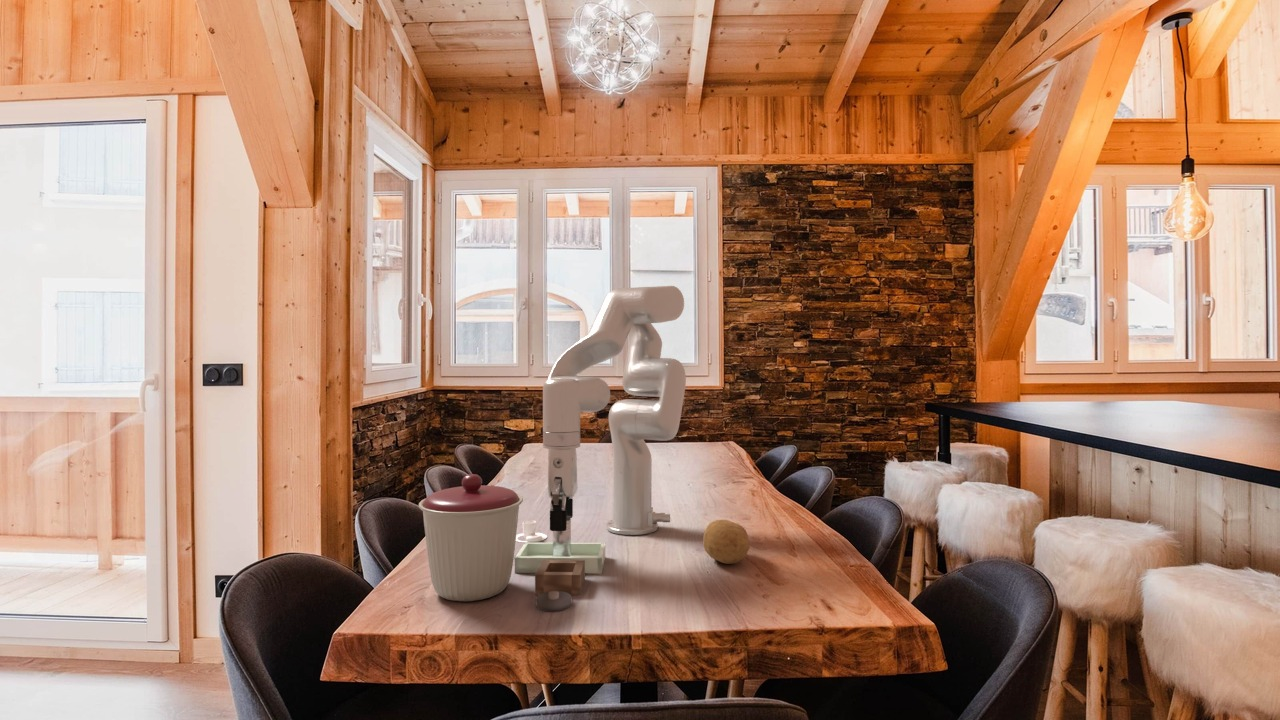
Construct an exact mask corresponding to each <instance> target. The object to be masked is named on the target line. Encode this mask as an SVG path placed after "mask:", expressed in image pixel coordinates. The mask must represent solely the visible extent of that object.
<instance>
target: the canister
mask: <svg viewBox="0 0 1280 720" xmlns="http://www.w3.org/2000/svg"><path fill="white" fill-rule="evenodd" d="M482 484H483V479H482V476H480V475H478V474H474V473H473V474H472V473H471V474H467V475H465V476H463V478H462V479H461V486H455V487H449V488H445V489H441V490H437V491H435V492H433V493H430V494H429V495H428V496H427V497H426V498H424V499H422V500H421V501H420V502H419V503H418V508H419V509H420V510H421V511H422V515H423V526H424V534H425V542H426V543H425V544H426V550H427V551H426V552H427V559H428V567H429V573H430V578H431V579H430V580H431V585H432V587H433V590H434V591H435V592H436V594H437V595H438V596H439V597H440V598H442V599H446V600H449V601H454V602H473V601H474V602H477V601H482V600H486V599H489V598H491V597H495V596H496V595H499V594H500V593H502V592H503V591H504V590H505V589H506V587H507V586H508V585H509V583H510V580H511V576H512V572H513V567H514V566H513V565H514V559H515V552H516V551H515V548H516V535H517V531H518V522H519V513H520V512H519V511H520V505H521V504H522V503H523V501H524V497H523V496H522V495H521V494H520V493H517V492H515V491H514V490H512V489H511V488H509V487H508V488H507V487H503V486H497V485H485V484H484V485H482Z"/></svg>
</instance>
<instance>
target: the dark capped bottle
mask: <svg viewBox="0 0 1280 720" xmlns="http://www.w3.org/2000/svg"><path fill="white" fill-rule="evenodd" d="M571 520H572V519H571V516H570V515H567V529H566V531H552V543H553V557H571V543H572V539H571V536H572V535H571V532H572V531H571V526H572V523H571V522H572V521H571Z"/></svg>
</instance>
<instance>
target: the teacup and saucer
mask: <svg viewBox="0 0 1280 720" xmlns="http://www.w3.org/2000/svg"><path fill="white" fill-rule="evenodd" d="M536 530H537V521H536V520H532V519H531V520H523V521H522V533H518V534H516V542H517V543H523V544H524V543H525V542H529V543H540V542H542V541H545V540H546V539H547V538H548V535H547V534H545V533H542V532H537V531H536ZM522 536H523V538H524V539H525V540H520V539H518V538H519V537H522ZM516 542H515V543H516Z"/></svg>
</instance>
